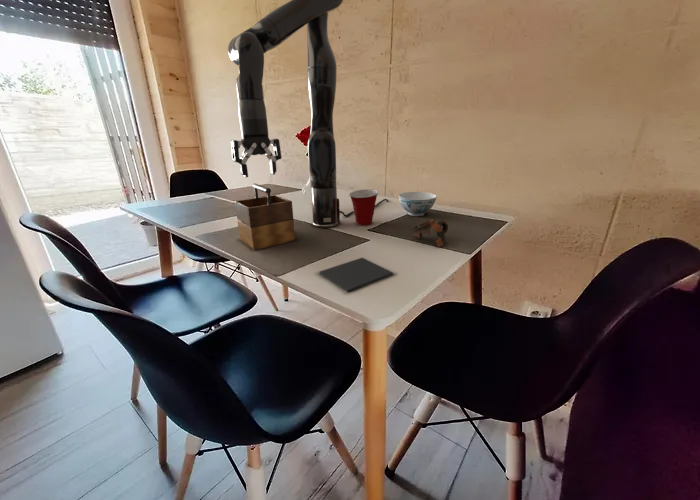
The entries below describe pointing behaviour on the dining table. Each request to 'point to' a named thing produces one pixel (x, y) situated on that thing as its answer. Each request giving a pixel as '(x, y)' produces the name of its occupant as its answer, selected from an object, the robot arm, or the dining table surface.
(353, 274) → the mat
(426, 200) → the chinaware
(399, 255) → the dining table surface
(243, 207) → the box
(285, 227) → the box
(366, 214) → the plastic cup
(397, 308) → the dining table surface
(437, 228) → the brown toy animal
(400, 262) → the dining table surface
